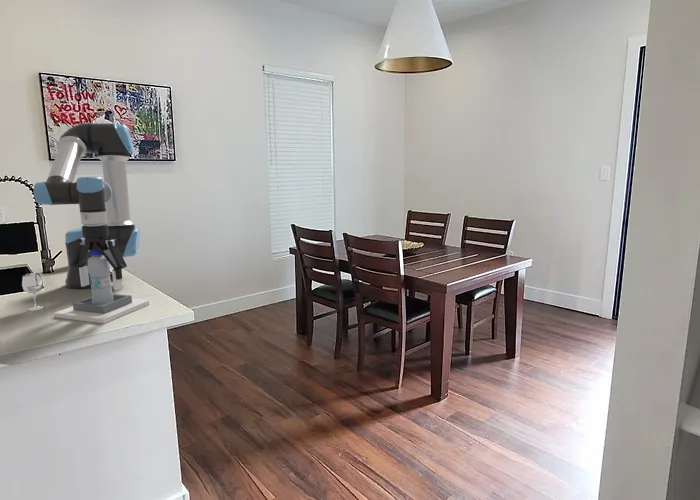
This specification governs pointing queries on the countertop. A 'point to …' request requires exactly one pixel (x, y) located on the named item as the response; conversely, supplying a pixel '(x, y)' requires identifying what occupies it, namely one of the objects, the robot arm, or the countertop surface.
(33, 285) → the wineglass
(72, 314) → the dock
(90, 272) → the bottle
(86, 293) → the countertop surface
